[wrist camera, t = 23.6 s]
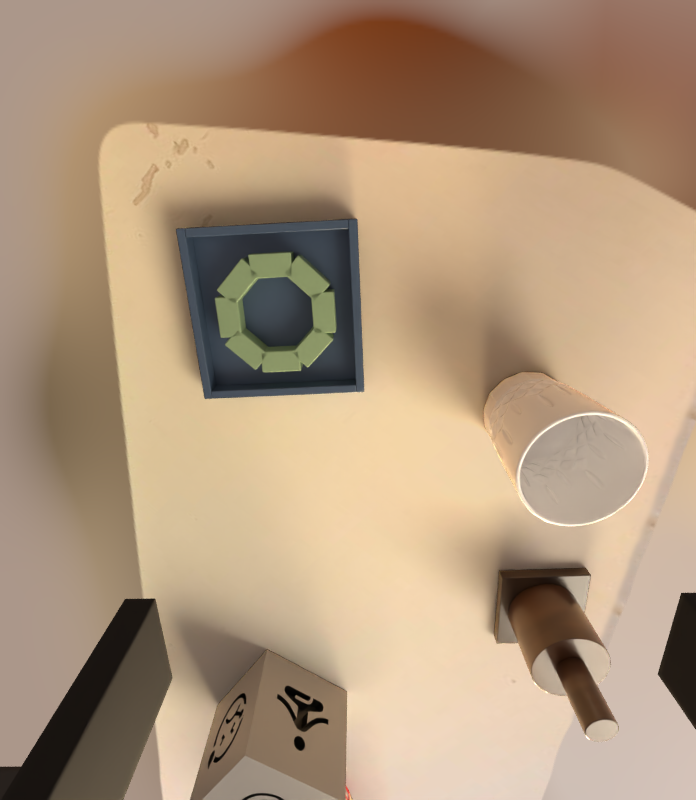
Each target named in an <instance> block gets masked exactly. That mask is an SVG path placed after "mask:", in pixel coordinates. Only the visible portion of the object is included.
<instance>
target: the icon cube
mask: <svg viewBox="0 0 696 800" xmlns="http://www.w3.org/2000/svg"><path fill="white" fill-rule="evenodd" d="M346 731H347V691H345V690H343V689H341V688H339V687H337V686H335V685H333V684H332V683H330V682H328V681H326V680H324V679H322V678H320V677H318V676H316V675H315V674H313V673H311V672H309V671H307V670H305V669H303V668H301V667H299V666H298V665H296V664H294V663H292V662H290V661H288V660H286V659H284V658H282V657H281V656H279V655H277V654H275V653H273V652H271V651H269V650H266V651H265V652H264V653H263V655H262V656H261V657H260V658H259V659H258V660H257V661H256V662H255V664H254V665H253V666H252V667H251V668H250V669H249V670H248V671H247V673H246V674H245V675H244V676H243V677H242V678H241V679H240V680H239V682H238V683H237V684H236V685H235V686H234V687H233V688H232V689H231V691H230V692H229V693H228V694H227V695H226V696H225V697H224V698H223V699H222V701H221V702H220V703H219V704H218V705H217V709H216V712H215V715H214V719H213V722H212V726H211V729H210V733H209V736H208V740H207V743H206V747H205V750H204V754H203V757H202V761H201V764H200V768H199V771H198V775H197V778H196V782H195V785H194V788H193V792H192V795H191V799H190V800H345V798H346Z"/></svg>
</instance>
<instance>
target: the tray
mask: <svg viewBox="0 0 696 800" xmlns="http://www.w3.org/2000/svg"><path fill="white" fill-rule="evenodd" d="M176 233H177V238H178V244H179V250H180V256H181V262H182V268H183V274H184V280H185V286H186V292H187V297H188V303H189V309H190V315H191V321H192V327H193V333H194V339H195V345H196V350H197V356H198V362H199V368H200V374H201V380H202V386H203V392H204V398H205V399H212V398H236V397H258V396H281V395H304V394H327V393H350V392H364V373H363V348H362V323H361V298H360V273H359V248H358V223H357V219H349V220H348V219H342V220H323V221H305V222H287V223H268V224H250V225H232V226H213V227H195V228H177V229H176ZM291 251H293V253H294V260H295V258H296V257H297V256H298V255H302V256H303V257H304V258H305V259H306V260H308V261H309V262H310V263H311V264H312V265H313V266H314V267H315V268H316V269H317V270H318V271H319V272H321V273H322V274H323V275H324V276H325V277H326V278H327V279H328V280H329V281H330V282H331V283H330V285H329V286H328V287H327V289H334V291H335V308H336V325H337V328H336V332H335V333H333V334H334V337H333V341H332V342H331V343H330V344H329V345H328V346H327V347H326V348H325V349H324V350H323V352H322V353H321V354H320V355H319V356H318V357H317V358H316V359H315V360H314V361H313V363H312V364H311V365H310V366H309V367H306V366H305V365H304V364H303V366H302V369H301V371H285V372H263V371H262V364H261V365H260V366H259V367H258V368H257V369H256V370H255V369H254V368H252V367H251V366H250V365H249V364H248V363H246V362H245V361H244V360H243V359H241V358H240V357H239V356H238V355H237V354H235V353H234V352H233V351H232V350H230V349H229V348H228V347H227V346H226V345H225V343H226V342H227V341H228V339H229V338H221V337H220V331H219V324H218V317H217V311H216V304H215V298H216V297H218V296H220V295H221V294H220V293H219V292H218V291H217V289H218V287H219V286H220V285H221V284H222V282H223V281H224V280H225V278H226V277H227V276H228V275H229V273H230V272H231V271H232V270H233V268H234V267H235V266H236V264H237V263H238V262H239V261H240V259H242V258H248V259H249V257H248V255H249V254H253V253H272V252H291ZM242 300H243V308H244V316H245V323H246V328H247V329H248V330H249V331H250V332H251V333H253V334H254V335H255V336H256V337H257V338H259V339H260V340H261V341H262V342H263V343H265V344H266V345H267V346H268V347H275V346H296V345H297V344H298V343H299V342H300V341H301V340H302V339H303V338H304V337H305V335H306V334H307V333H308V332H309V331H310V330H311V329H312V328H313V316H312V303H311V297H309V296H308V295H307V294H306V293H305V292H304V291H303V290H302V289H300V288H299V287H298V286H297V285H296V284H295V283H294V282H293V281H292V280H290V279H289V278H288V277H275V278H259V279H258V280H257V281H256V283H255V284H254V285H253V286H252V288H251V289H250V290H249V291H248V293H247V294H246V295H245V296H244V297H243V299H242Z"/></svg>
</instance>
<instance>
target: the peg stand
mask: <svg viewBox="0 0 696 800" xmlns="http://www.w3.org/2000/svg"><path fill="white" fill-rule="evenodd" d="M590 577H591V575H590V573H589V572H588V570H587V569H586V568H570V569H540V570H509V571H499V581H498V593H497V606H496V618H495V631H494V637H495V640H496V642H497V644H505V643H518V644H519V646H520V649H521V651H522V654H523V656H524V659H525V661H526V664H527V666H528V669H529V671H530V674H531V676H532V679H533V681H534V682H535V684H536V685H537V686H538V687H539V688H540V689H542V690H544V691H545V692H548V693H550V694H554V695H560V696H568V699H569V701H570V703H571V705H572V707H573V709H574V712H575V714H576V716H577V718H578V720H579V723H580V724H581V727H582V729H583V731H584V733H585V735H586V737H587V738H588V739H590V740H592V741H595V742H603V741H607V740H610V739H612V738H613V737H615V736H616V734H617V733H618V731H619V726H618V724H617V722H616V720H615V718H614V716H613V715H612V712H611V710H610V709H609V707H608V705H607V703H606V701H605V699H604V697H603V696H602V694H601V692H600V690H599V688H598V686H597V685H598V684H600V683H601V682H602V681H603V680H604V678H605V677H606V676H607V674H608V672H609V669H610V665H611V661H610V656H609V654H608V652H607V650H606V648H605V647H604V645H603V643H602V642H601V640H600V638H599V637H598V635H597V633H596V632H595V630H594V628H593V627H592V625H591V623H590V622H589V620H588V618H587V617H586V615H585V607H586V601H587V595H588V589H589V583H590Z"/></svg>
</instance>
